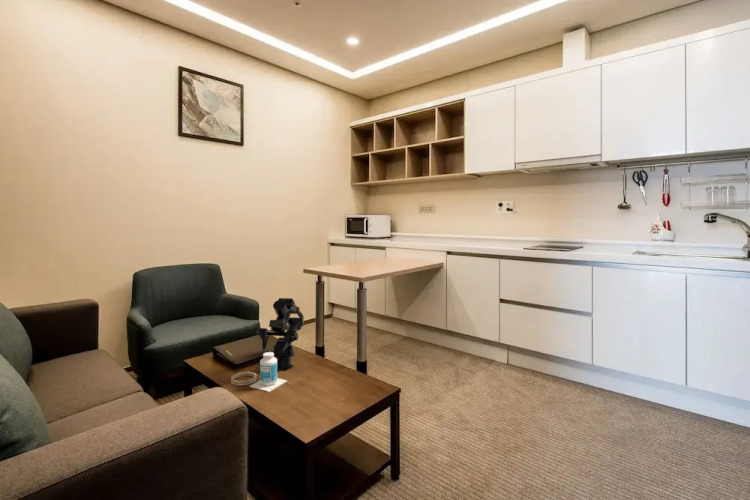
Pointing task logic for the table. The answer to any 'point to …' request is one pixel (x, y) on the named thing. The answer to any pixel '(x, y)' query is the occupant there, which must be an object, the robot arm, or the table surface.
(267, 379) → the pill bottle
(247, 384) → the ring holder
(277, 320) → the robot arm
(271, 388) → the white square cloth
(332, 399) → the table surface
